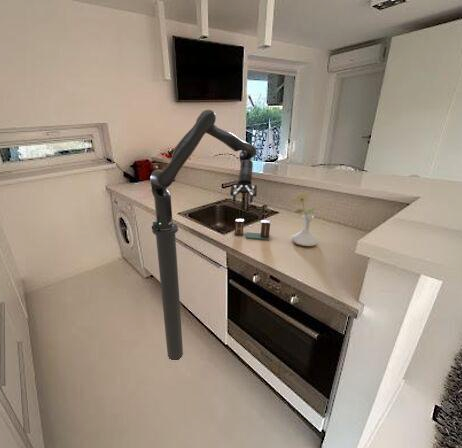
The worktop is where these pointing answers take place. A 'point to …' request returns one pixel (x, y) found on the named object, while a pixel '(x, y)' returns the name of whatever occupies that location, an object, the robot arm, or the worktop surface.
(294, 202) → the flower in vase
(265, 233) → the brown white-topped cylinder
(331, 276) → the worktop surface
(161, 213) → the robot arm
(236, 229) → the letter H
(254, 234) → the word mat
